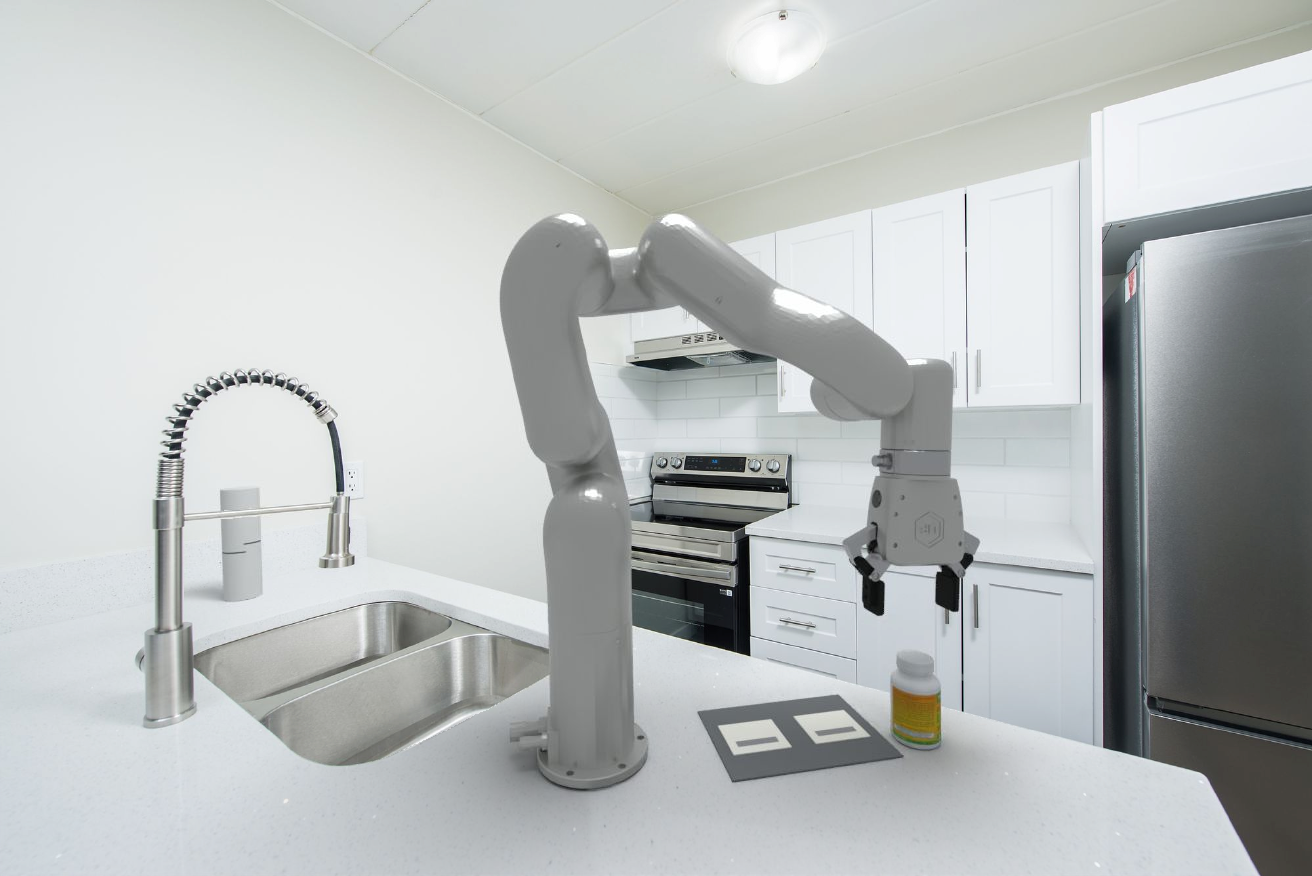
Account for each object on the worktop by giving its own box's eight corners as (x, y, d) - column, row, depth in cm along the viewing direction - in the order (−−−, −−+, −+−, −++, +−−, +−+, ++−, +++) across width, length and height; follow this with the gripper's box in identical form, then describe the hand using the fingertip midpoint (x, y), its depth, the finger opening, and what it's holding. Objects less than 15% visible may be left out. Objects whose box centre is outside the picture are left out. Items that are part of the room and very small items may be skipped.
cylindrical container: (268, 594, 124) (265, 487, 123) (231, 603, 118) (227, 490, 117) (254, 590, 128) (251, 486, 127) (218, 598, 122) (214, 489, 121)
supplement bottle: (947, 753, 60) (947, 668, 60) (896, 748, 61) (896, 664, 61) (933, 727, 65) (932, 648, 65) (886, 723, 66) (885, 645, 66)
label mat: (732, 782, 56) (732, 779, 56) (697, 712, 70) (697, 710, 70) (903, 757, 60) (903, 754, 60) (838, 695, 73) (838, 693, 73)
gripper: (865, 467, 57) (861, 625, 58) (1004, 468, 61) (999, 618, 61) (830, 462, 65) (827, 603, 65) (955, 463, 68) (951, 597, 68)
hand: (910, 610), depth 63 cm, fingers open, 9 cm apart
